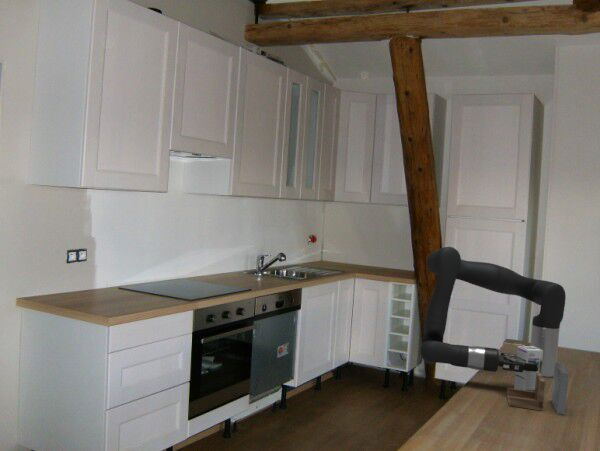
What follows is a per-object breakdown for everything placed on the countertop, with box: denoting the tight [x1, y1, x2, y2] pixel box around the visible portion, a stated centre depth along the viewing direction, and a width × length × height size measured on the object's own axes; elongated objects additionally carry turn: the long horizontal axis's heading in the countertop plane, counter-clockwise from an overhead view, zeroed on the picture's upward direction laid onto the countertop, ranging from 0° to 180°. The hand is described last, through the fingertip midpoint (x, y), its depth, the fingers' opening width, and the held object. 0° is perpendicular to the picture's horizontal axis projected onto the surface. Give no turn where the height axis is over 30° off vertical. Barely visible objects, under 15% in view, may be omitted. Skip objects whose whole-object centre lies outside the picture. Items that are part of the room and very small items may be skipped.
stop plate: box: [551, 362, 569, 416], centre depth 191 cm, size 12×2×12 cm, turn 166°
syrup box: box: [513, 345, 543, 392], centre depth 205 cm, size 6×6×14 cm
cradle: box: [506, 372, 546, 411], centre depth 193 cm, size 10×9×8 cm
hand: (535, 365), depth 205 cm, fingers closed on syrup box, 7 cm apart
